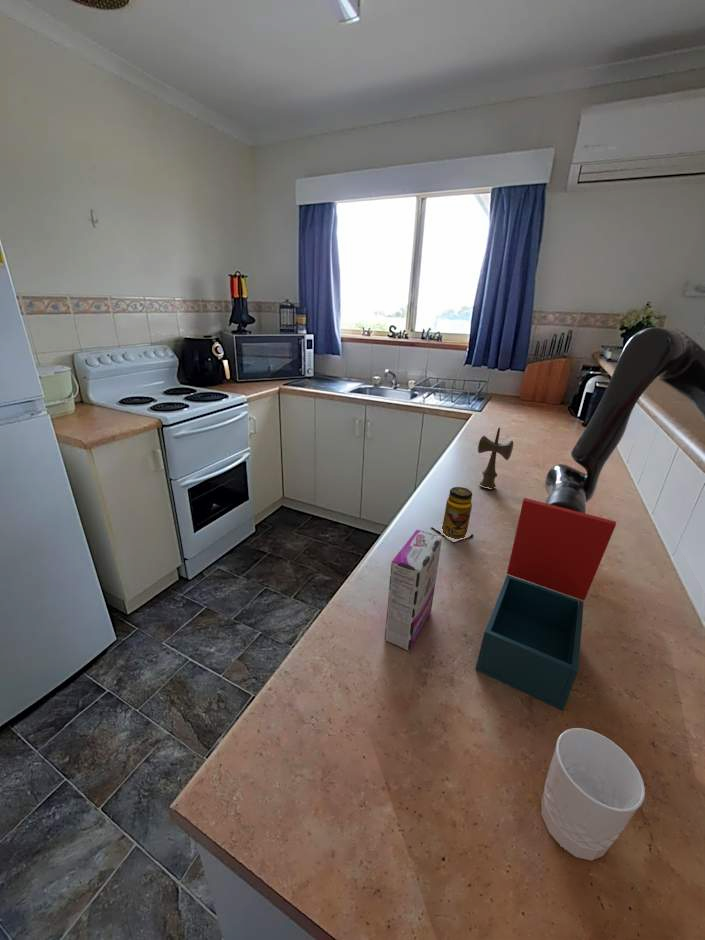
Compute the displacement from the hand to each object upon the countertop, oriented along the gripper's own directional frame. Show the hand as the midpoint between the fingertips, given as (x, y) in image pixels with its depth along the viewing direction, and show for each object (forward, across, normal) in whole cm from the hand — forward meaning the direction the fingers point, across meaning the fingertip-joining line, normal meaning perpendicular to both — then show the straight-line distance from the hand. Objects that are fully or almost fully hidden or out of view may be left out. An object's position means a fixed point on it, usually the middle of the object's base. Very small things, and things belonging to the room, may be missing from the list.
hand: (554, 551), depth 65 cm
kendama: (-57, -22, +16) cm, 63 cm away
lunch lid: (+1, 0, -1) cm, 1 cm away
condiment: (-23, -23, +16) cm, 36 cm away
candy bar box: (+13, -19, +16) cm, 28 cm away
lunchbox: (+7, 0, +16) cm, 18 cm away
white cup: (+29, +8, +16) cm, 35 cm away
